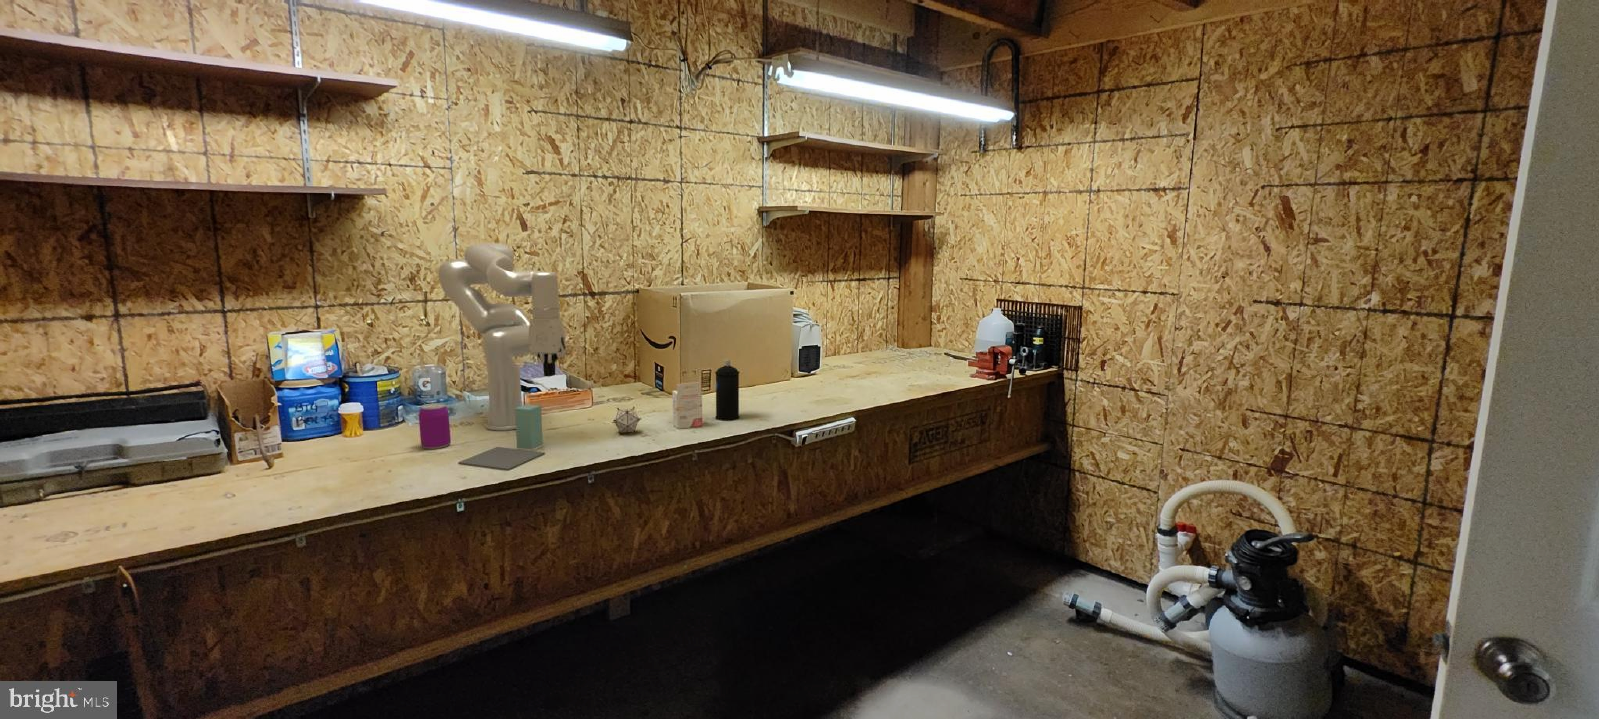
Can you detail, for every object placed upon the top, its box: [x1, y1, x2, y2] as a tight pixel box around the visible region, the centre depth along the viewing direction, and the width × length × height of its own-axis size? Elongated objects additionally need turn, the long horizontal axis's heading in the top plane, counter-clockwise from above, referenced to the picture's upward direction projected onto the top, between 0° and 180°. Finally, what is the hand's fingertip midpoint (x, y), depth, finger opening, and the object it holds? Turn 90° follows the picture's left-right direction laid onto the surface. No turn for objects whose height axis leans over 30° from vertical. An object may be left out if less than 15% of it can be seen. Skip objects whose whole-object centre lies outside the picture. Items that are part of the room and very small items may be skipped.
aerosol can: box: [714, 359, 740, 422], centre depth 240 cm, size 8×8×20 cm
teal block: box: [515, 403, 544, 451], centre depth 205 cm, size 5×5×12 cm
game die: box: [612, 406, 642, 435], centre depth 221 cm, size 9×8×10 cm
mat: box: [457, 446, 546, 471], centre depth 195 cm, size 16×15×1 cm
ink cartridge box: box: [672, 381, 704, 430], centre depth 230 cm, size 9×5×15 cm, turn 118°
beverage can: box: [418, 402, 451, 450], centre depth 205 cm, size 8×8×12 cm
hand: (549, 375), depth 212 cm, fingers closed
